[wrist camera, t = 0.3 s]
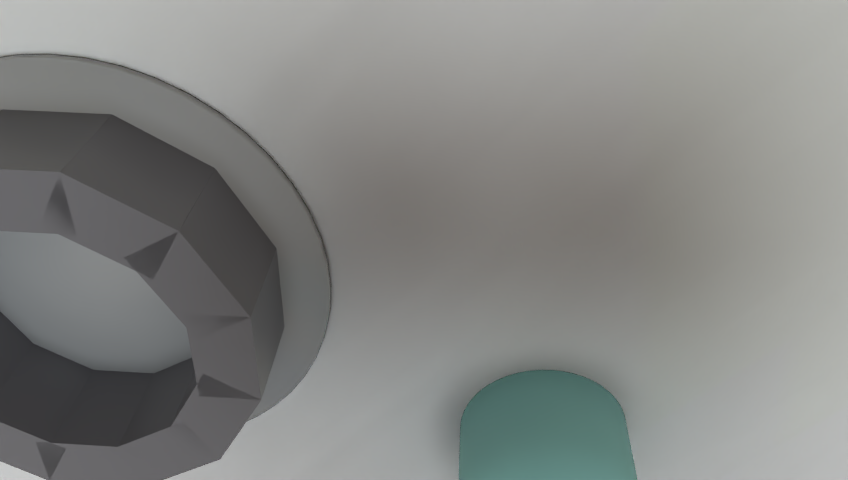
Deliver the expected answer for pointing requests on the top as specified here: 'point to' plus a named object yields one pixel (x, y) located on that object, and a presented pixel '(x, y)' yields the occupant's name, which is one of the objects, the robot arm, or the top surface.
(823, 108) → the top surface
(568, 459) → the teal capped cylinder
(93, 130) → the ring
